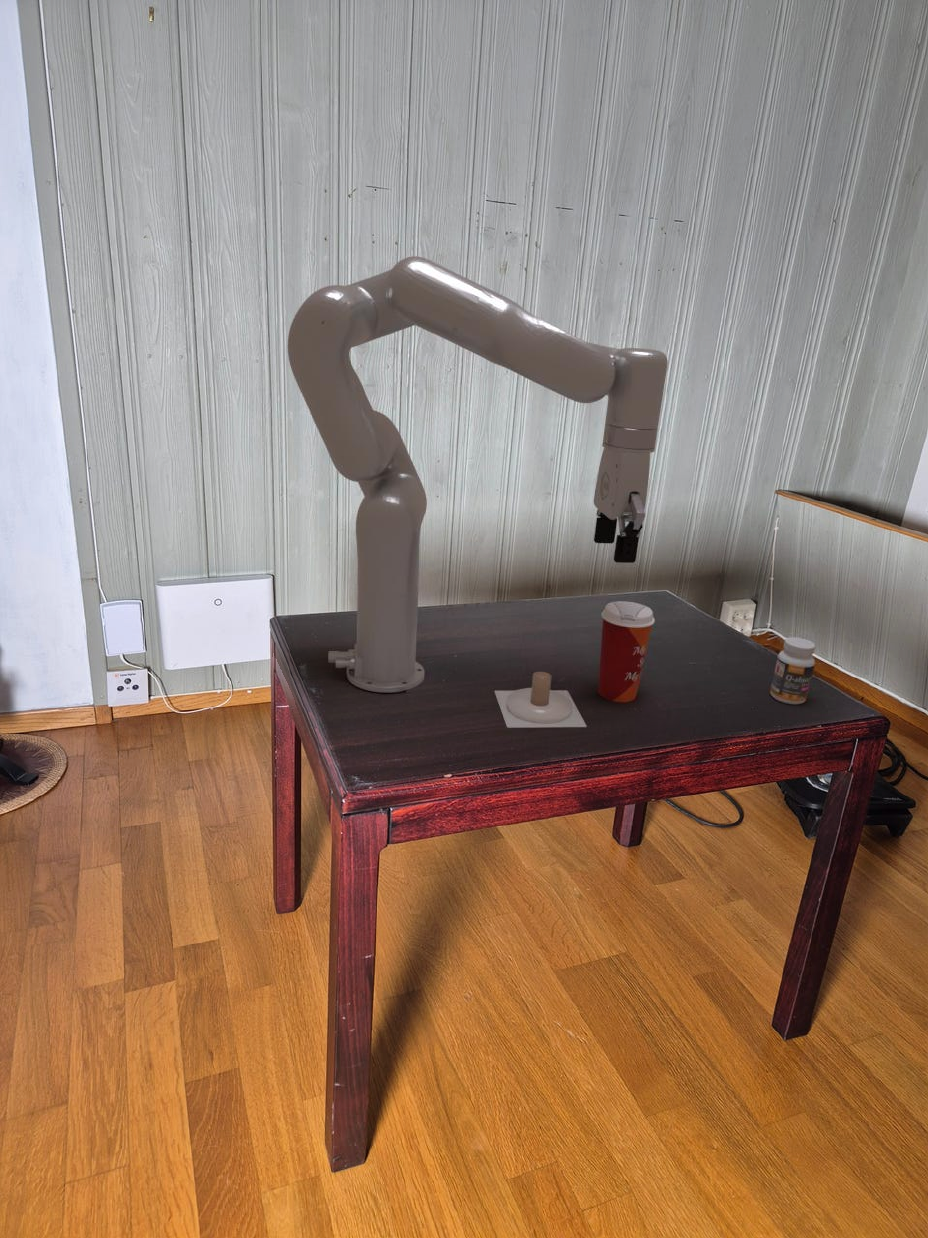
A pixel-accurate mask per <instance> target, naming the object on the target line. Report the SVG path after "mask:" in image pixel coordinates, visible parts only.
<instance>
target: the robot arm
mask: <svg viewBox="0 0 928 1238" xmlns="http://www.w3.org/2000/svg"><path fill="white" fill-rule="evenodd" d="M413 326H416V327H419V328H420V329H422V330H425V331H426V332H429V333H430V334H434V335H436V336H438V337H440V338H442V339H444V340H446V341H448V342H451V343H453V344H455V345H457V346H459V347H460V348H462V349H464V350H467V351H469V352H470V353H473V354H474V355H477V356H479V357H481V358H483V359H485V360H487V361H488V362H491V363H493V364H495V365H497V366H500V367H503V368H505V369H507V370H510V371H512V372H513V373H515V374H518V375H519V376H522V377H524V378H525V379H527V380H529V381H531V382H534V383H536V384H537V385H539V386H541V387H544V388H546V389H548V390H549V391H552V392H554V393H556V394H559V395H560V396H563V397H565V398H567V399H569V400H571V401H574V402H577V403H580V404H581V403H582V404H593V403H595V402H598V401H601V400H602V399H603V398H604V397H606V396H607V407H606V414H605V423H604V431H603V440H602V445H601V446H602V447H603V449H602V450H603V451H602V454H601V458H600V460H599V461H600V463H599V466H598V472H597V479H596V483H595V489H594V496H593V505H594V506H595V508H597V510H596V516H597V517H596V521H595V528H594V529H595V530H594V535H593V542H594V543H595V544H614V543H615V546H614V553H613V561H614V562H615V563H618V564H619V563H621V564H622V563H623V564H624V563H625V564H627V563H628V564H630V563H631V564H634V563H635V562H636V560H637V553H638V547H639V541H640V540H639V539H640V537H641V534H642V532H641V530H642V529H643V527H644V526H643V523H644V520H645V518H646V503H647V497H648V490H649V481H650V479H649V478H650V477H649V476H650V466H651V454H652V453H654V452H655V451H656V444H657V439H658V438H657V435H658V430H659V425H660V424H659V423H660V417H661V411H662V405H663V404H662V403H663V397H664V391H665V384H666V377H667V371H668V362H669V361H668V356H666V354H665V353H664V352H662V351H661V350H657V349H650V348H649V349H648V348H638V347H624V348H623V347H622V348H616V347H611V346H610V347H609V346H605V345H600V344H596V343H593V342H588V341H586V340H583V339H581V338H580V337H577V336H575V335H573V334H570V333H569V332H567V331H565V330H562V329H560V328H559V327H556V326H554V325H552V324H551V323H548V322H546V321H545V320H543V319H541V318H539V317H538V316H536V315H534V314H532V313H531V312H529V311H528V310H526V309H525V308H524V307H522V306H521V305H519V303H517V302H515V301H514V300H511V299H510V298H508V297H507V296H504V295H502V294H501V293H498V292H496V291H494V290H492V289H490V288H488V287H486V286H483V285H482V284H479V283H477V282H475V281H473V280H471V279H469V278H467V277H465V276H463V275H461V274H458V273H456V272H454V271H453V270H451V269H448V268H446V267H445V266H442V265H440V264H438V263H436V262H434V261H432V260H430V259H427V258H425V257H421V256H418V255H417V256H416V255H414V256H407V257H405V258H403V259H401V260H400V261H398V262H397V263H396V264H395V265H394V266H393V267H392V268H391V269H390V270H387V271H384V272H382V273H379V274H376V275H373V276H370V277H368V278H365V279H361V280H358V281H356V282H353V283H350V284H348V285H341V284H339V285H338V284H333V285H326V286H324V287H321V288H319V289H317V290H316V291H314V292H313V293H311V294H310V295H309V296H308V297H307V298H306V299H305V300H304V301H303V303H302V304H301V305H300V307H299V308H298V310H297V312H296V313H295V315H294V317H293V319H292V322H291V324H290V327H289V331H288V336H287V337H288V338H287V354H288V355H287V357H288V361H289V366H290V369H291V371H292V374H293V378H294V380H295V382H296V385H297V387H298V389H299V391H300V393H301V394H302V397H303V399H304V401H305V404H306V406H307V408H308V409H309V413H310V415H311V418H312V421H313V422H314V424H315V427H316V428H317V430H318V432H319V435H320V437H321V439H322V441H323V443H324V445H325V448H326V450H327V453H328V454H329V457H330V459H331V462H332V464H333V465H334V468H335V469H336V470H337V471H338V473H339V474H340V475H341V476H342V477H344V478H345V479H347V480H348V481H352V482H356V483H358V485H359V488H360V490H361V492H362V494H363V496H364V497H363V499H362V501H361V502H360V504H359V507H358V509H357V514H356V518H355V538H356V539H355V540H356V553H357V554H356V555H357V557H356V558H357V583H356V585H357V597H356V598H357V607H356V608H357V609H356V610H357V611H356V613H357V614H356V643H354V649H353V648H352V649H348V651H339V650H336V651H335V650H329V651H328V655H327V656H328V657H327V659H328V662H327V663H329V664H335V668H336V669H344V668H346V678H347V680H348V681H349V682H350V683H351V684H352V685H353V686H355V687H356V688H359V689H362V690H366V691H368V692H375V693H386V694H388V693H389V694H390V693H401V692H406V691H407V690H410V689H414V688H416V687H418V686H419V685H420V684H421V683H423V681H424V679H425V668H424V667H423V666H422V664H420V663H419V662H418V661H416V657H417V656H416V654H417V653H416V652H417V632H418V631H417V629H418V609H419V607H418V605H419V587H420V586H419V582H420V580H419V579H420V542H421V541H420V538H421V530H422V523H423V522H424V518H425V516H426V515H425V514H426V511H427V508H428V507H427V506H428V501H427V494H426V491H425V487H424V485H423V483H422V480H421V478H420V476H419V473H418V472H417V470H416V467H415V465H414V463H413V460H412V458H411V456H410V453H409V451H408V449H407V446H406V444H405V442H404V440H403V438H402V435H401V434H400V431H399V430H398V428H397V427H396V425H395V424H394V422H393V421H392V420H391V419H390V418H389V417H388V416H387V415H385V414H384V413H383V412H379V411H377V410H374V408H373V407H372V404H371V401H370V400H369V398H368V396H367V394H366V390H365V388H364V385H363V383H362V382H361V380H360V378H359V376H358V374H357V372H356V370H355V369H354V366H353V365H352V361H351V358H350V352H351V349H352V348H354V347H358V346H361V345H364V344H366V343H369V342H372V341H374V340H378V339H379V338H382V337H386V336H389V335H391V334H395V333H396V332H397V333H398V332H400V331H402V330H406V329H409V328H411V327H413ZM626 522H627V524H626ZM617 524H618V530H619V534H617V535H616V533H617Z"/></svg>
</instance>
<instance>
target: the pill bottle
mask: <svg viewBox="0 0 928 1238" xmlns="http://www.w3.org/2000/svg"><path fill="white" fill-rule="evenodd" d="M815 649H816V644H815V642H813V641H811V640H808V639H805V638H801V637H792V636H791V637H787V638H784V643H783V650H781V651H780V652H779V653H778V654H777V659H776V662H775V667H774V672H773V675H772V681H771V686H770V690H769V691H770V693H769V694H770V695H771V697H773V699H775V700H777V701H779V702H781V703H784V704H788V705H800V704H803V703H805V702H806V700H807V697H808V695H809V690H810V686H811V682H812V676H813V674H814V673H813V672H814V670H815V665H816V661H815V659H814V656H813V654H814V652H815Z"/></svg>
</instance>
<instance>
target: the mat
mask: <svg viewBox="0 0 928 1238" xmlns="http://www.w3.org/2000/svg"><path fill="white" fill-rule="evenodd" d="M514 691H515V690H494V695H495V697H496V700H497V702H498V705H499V708H500V711H501V713H502V716H503V720H504V722H505V725H506V727H507V729H509V728H510V729H514V728H515V729H519V728H520V729H521V728H522V729H524V728H525V729H526V728H527V729H528V728H530V729H532V728H534V729H535V728H587V727H588V726H587V724H586V723H585V720H584V718H583V717H582V715H581V713H580V711H579V710H578V708H577V706H576V704H575V701H574V700H573V697H572V696H571V694H570V692H569V691H568V690H566V689H565V690H555V691H556V692H558V693H561V694H563V695H564V696H566V697H567V698H568V699H569V700H570V701H571V703H572V712H571V715H570V716H569V717H568V718H567V719H566V720H564V721H561V722H557V723H550V724H541V723H533V722H528V721H524V720H522V719H519V718H517V717H515V716H514V715H512V714H511V713H510V712H509V711H508V709H507V697H508V696H509V694H511V693H512V692H514Z"/></svg>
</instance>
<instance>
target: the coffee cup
mask: <svg viewBox="0 0 928 1238" xmlns="http://www.w3.org/2000/svg"><path fill="white" fill-rule="evenodd" d="M600 616H601V617H602V631H601V641H600V643H601V646H600V657H599V659H600V661H599V674H598V675H599V676H598V695H599V696H601V697H602V698H603V699H606V700H607V701H610V702H616V703H629V702H632V701H634V700H635V699H636V697H637V694H638V689H639V685H640V680H641V677H642V672H643V671H642V670H643V666H644V663H645V659H646V653H647V649H648V644H649V640H650V635H651V629H652V626H653V625H654V624H655V617H654V612H653V610H652V609H651V608H650V607H649V606H646V605H644V604H641V603H637V602H633V601H625V600H624V601H623V600H621V601H620V600H619V601H618V600H617V601H612V602H609V603H607V604H606V605H605V606H604V610H603V611H602V612H601V615H600Z"/></svg>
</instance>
